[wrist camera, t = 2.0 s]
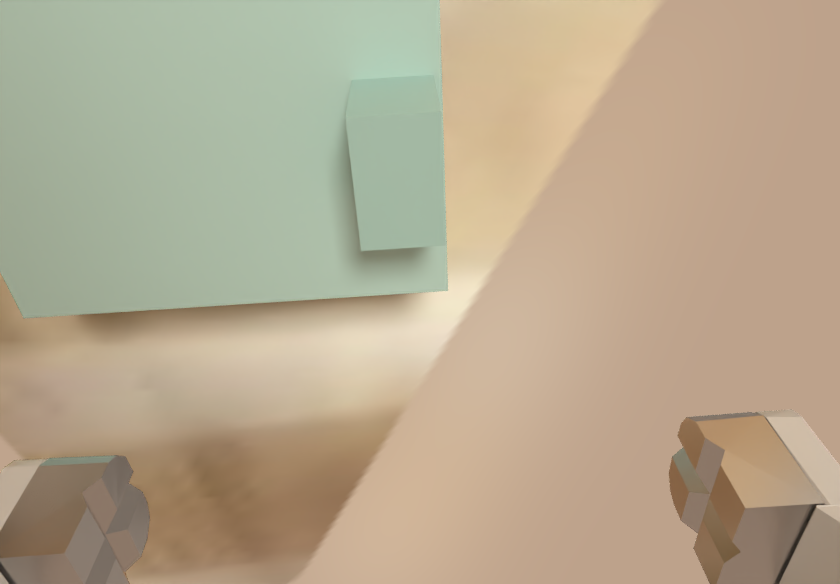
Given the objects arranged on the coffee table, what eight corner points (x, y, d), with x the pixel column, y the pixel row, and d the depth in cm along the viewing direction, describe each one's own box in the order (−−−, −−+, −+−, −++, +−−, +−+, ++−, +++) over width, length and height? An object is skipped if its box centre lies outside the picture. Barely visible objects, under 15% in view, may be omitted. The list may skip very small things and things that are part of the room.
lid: (-139, -45, 17) (-276, -24, 14) (435, -80, 17) (447, -68, 14) (33, 305, 24) (-29, 381, 20) (446, 279, 24) (456, 349, 21)
